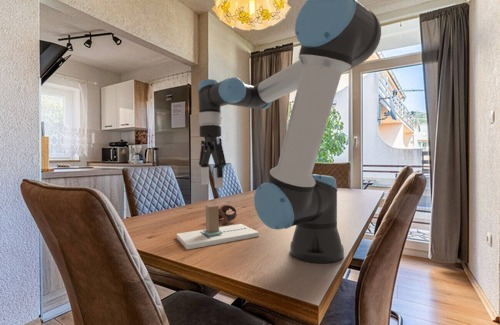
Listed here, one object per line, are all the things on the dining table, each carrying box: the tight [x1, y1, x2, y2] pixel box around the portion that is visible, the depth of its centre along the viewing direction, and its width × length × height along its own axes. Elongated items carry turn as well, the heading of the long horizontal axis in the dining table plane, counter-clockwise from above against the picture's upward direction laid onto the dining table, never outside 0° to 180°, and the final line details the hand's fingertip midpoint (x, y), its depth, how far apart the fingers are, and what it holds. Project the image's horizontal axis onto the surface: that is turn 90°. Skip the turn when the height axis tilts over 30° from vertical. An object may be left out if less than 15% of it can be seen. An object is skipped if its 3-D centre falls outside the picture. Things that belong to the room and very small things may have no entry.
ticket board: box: [176, 223, 260, 250], centre depth 95 cm, size 14×26×2 cm, turn 119°
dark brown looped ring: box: [219, 204, 238, 225], centre depth 117 cm, size 12×10×8 cm
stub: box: [202, 204, 222, 236], centre depth 94 cm, size 6×5×10 cm
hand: (211, 186), depth 93 cm, fingers open, 13 cm apart
